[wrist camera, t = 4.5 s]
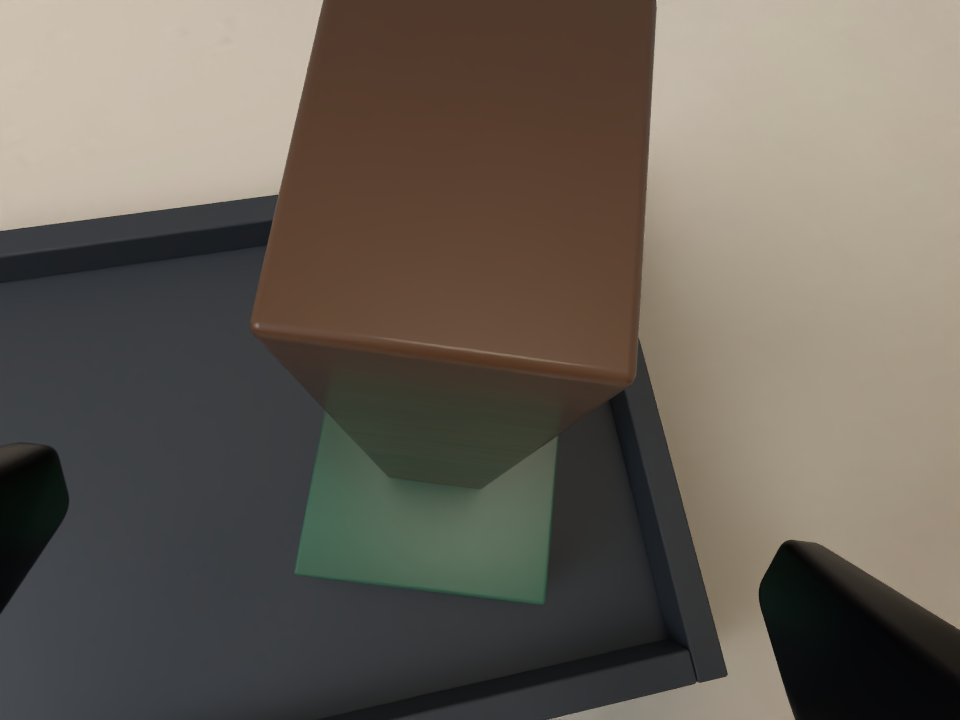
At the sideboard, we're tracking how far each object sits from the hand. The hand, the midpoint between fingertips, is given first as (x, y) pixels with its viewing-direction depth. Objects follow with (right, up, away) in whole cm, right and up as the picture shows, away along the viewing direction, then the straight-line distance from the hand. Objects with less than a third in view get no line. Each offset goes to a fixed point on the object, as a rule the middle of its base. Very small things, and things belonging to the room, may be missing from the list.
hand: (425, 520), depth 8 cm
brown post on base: (0, 0, +10) cm, 10 cm away
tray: (-6, -1, +10) cm, 12 cm away
